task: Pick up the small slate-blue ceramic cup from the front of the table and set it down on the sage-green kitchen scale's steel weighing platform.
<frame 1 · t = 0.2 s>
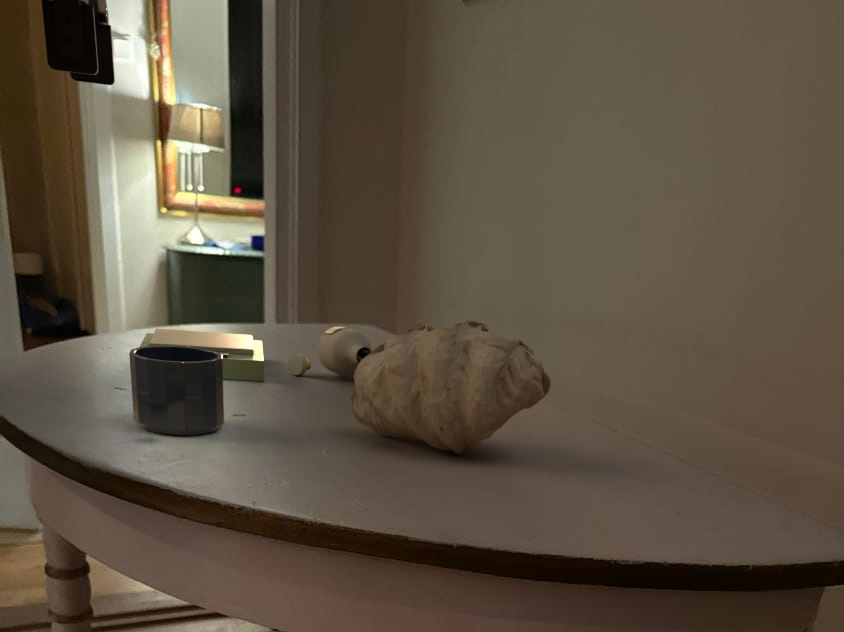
hand: (84, 77, 67), 24 cm above the table, tool pointing down, fingers open, 9 cm apart
scale: (203, 366, 94), on the table
cup: (180, 425, 73), on the table
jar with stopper: (367, 395, 91), on the table
seashell: (443, 448, 75), on the table
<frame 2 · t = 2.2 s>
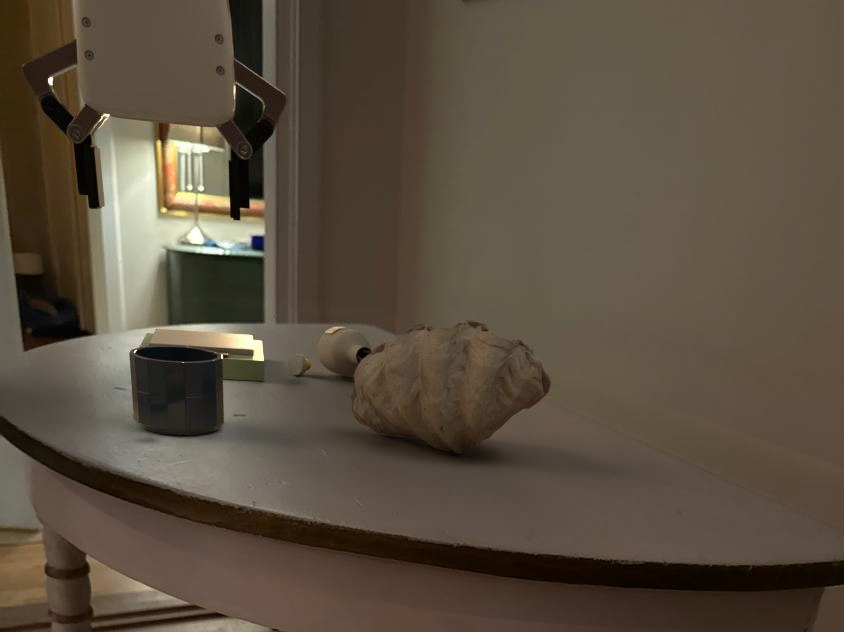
hand: (167, 213, 66), 15 cm above the table, tool pointing down, fingers open, 9 cm apart
nothing on the table moved.
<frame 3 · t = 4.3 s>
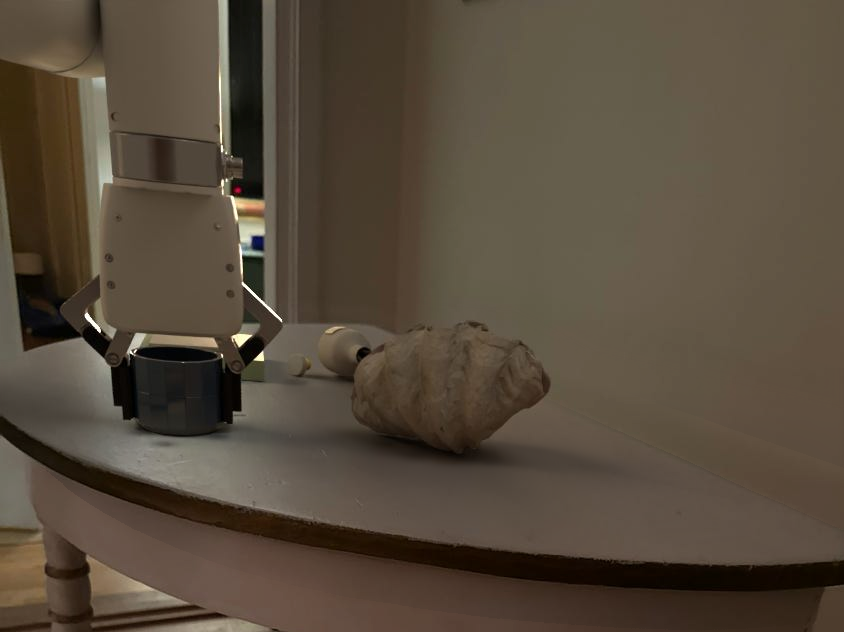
hand: (179, 416, 72), 1 cm above the table, tool pointing down, fingers closed on cup, 6 cm apart
cup: (180, 425, 73), on the table, touching gripper
everything else where it was.
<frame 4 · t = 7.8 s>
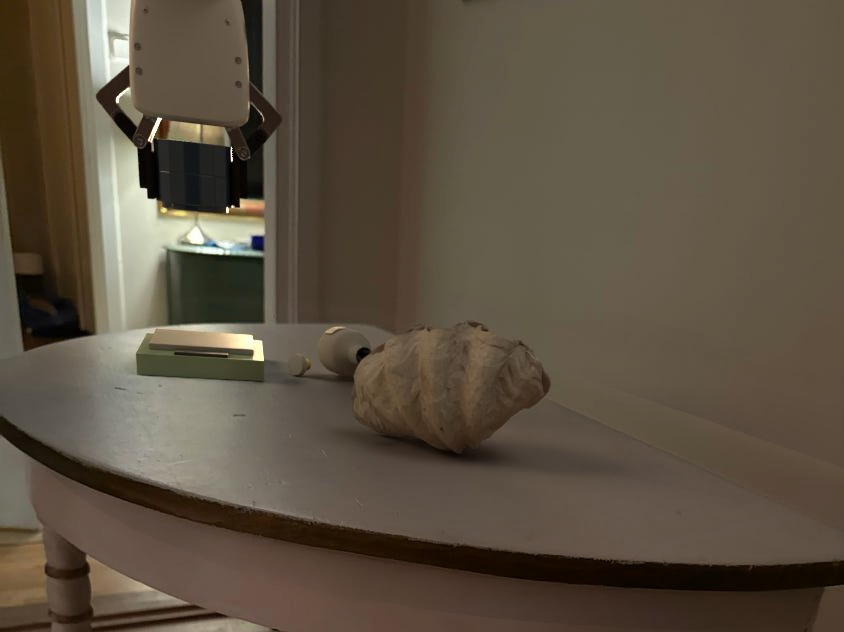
hand: (194, 201, 85), 16 cm above the table, tool pointing down, fingers closed on cup, 6 cm apart
cup: (195, 210, 85), point 15 cm above the table, touching gripper
everything else where it was.
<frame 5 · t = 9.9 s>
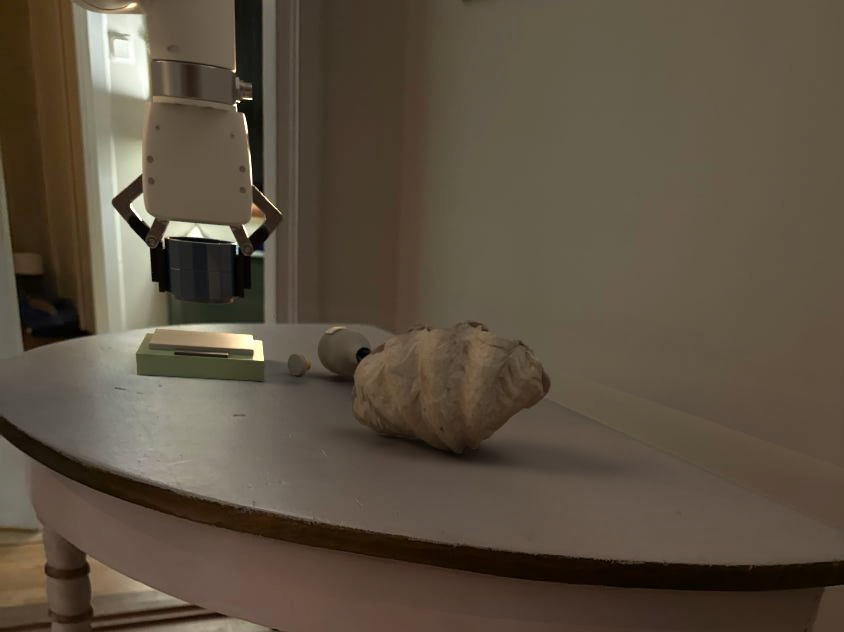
hand: (202, 292, 92), 7 cm above the table, tool pointing down, fingers closed on cup, 6 cm apart
cup: (202, 299, 92), point 6 cm above the table, touching gripper
everything else where it was.
when the fingers open (3 cm above the table, at t = 11.5 s): cup stays where it is, resting on scale.
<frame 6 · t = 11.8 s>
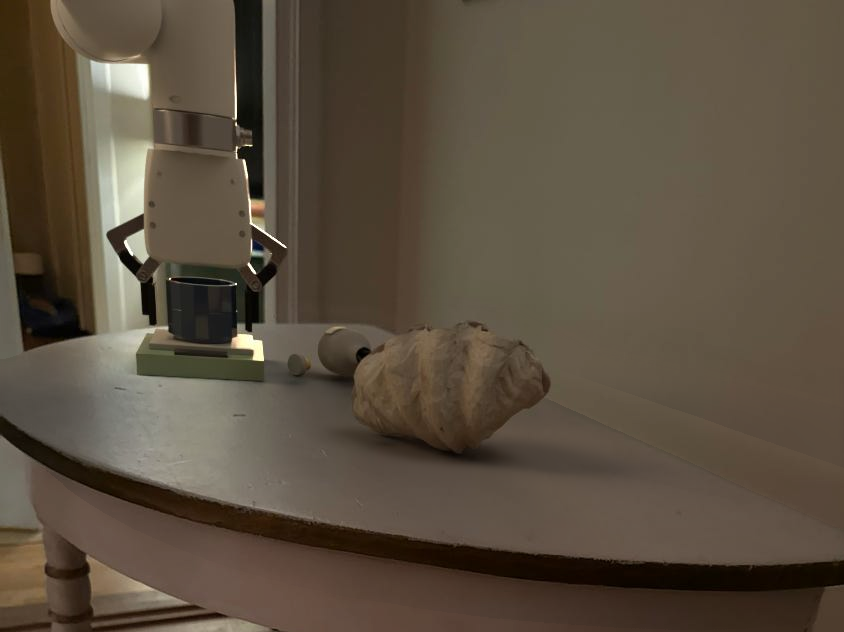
hand: (202, 326, 94), 4 cm above the table, tool pointing down, fingers open, 9 cm apart
cup: (203, 338, 94), point 3 cm above the table, touching scale
everything else where it was.
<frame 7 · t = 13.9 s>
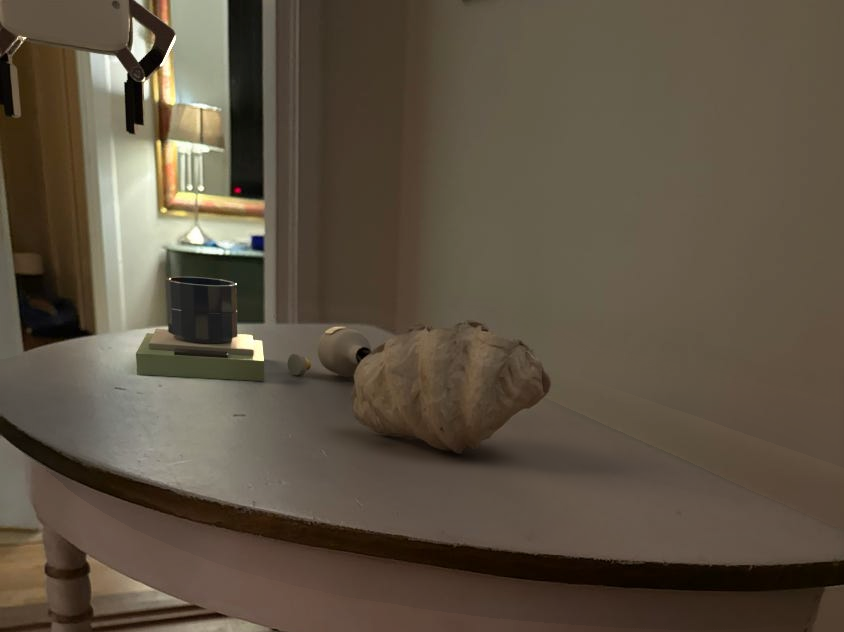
hand: (73, 125, 79), 21 cm above the table, tool pointing down, fingers open, 9 cm apart
nothing on the table moved.
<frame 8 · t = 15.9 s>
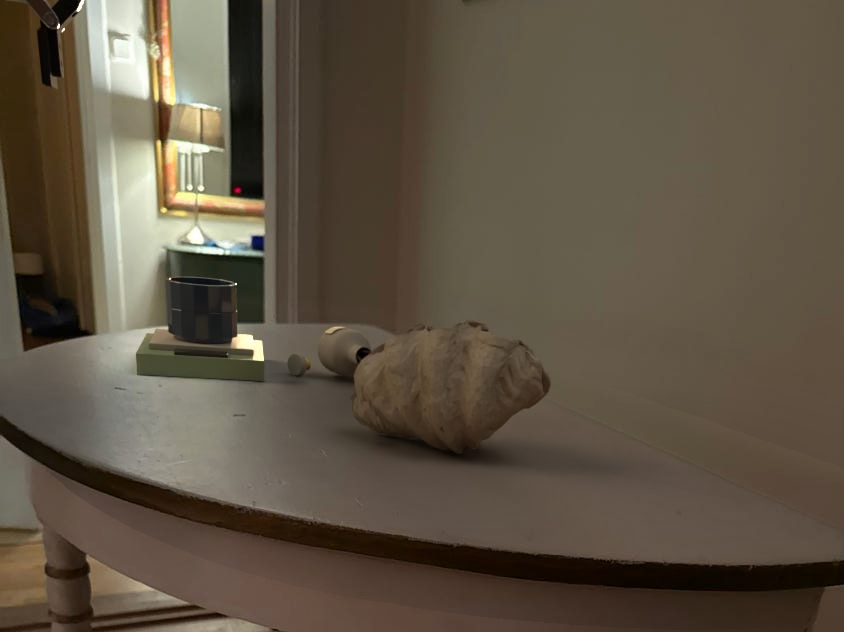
nothing on the table moved.
at the end: cup inside the target area on the scale (0.0 cm from its centre), point 2.6 cm above the scale's base; cup tilted 0°; the gripper is holding nothing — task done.
